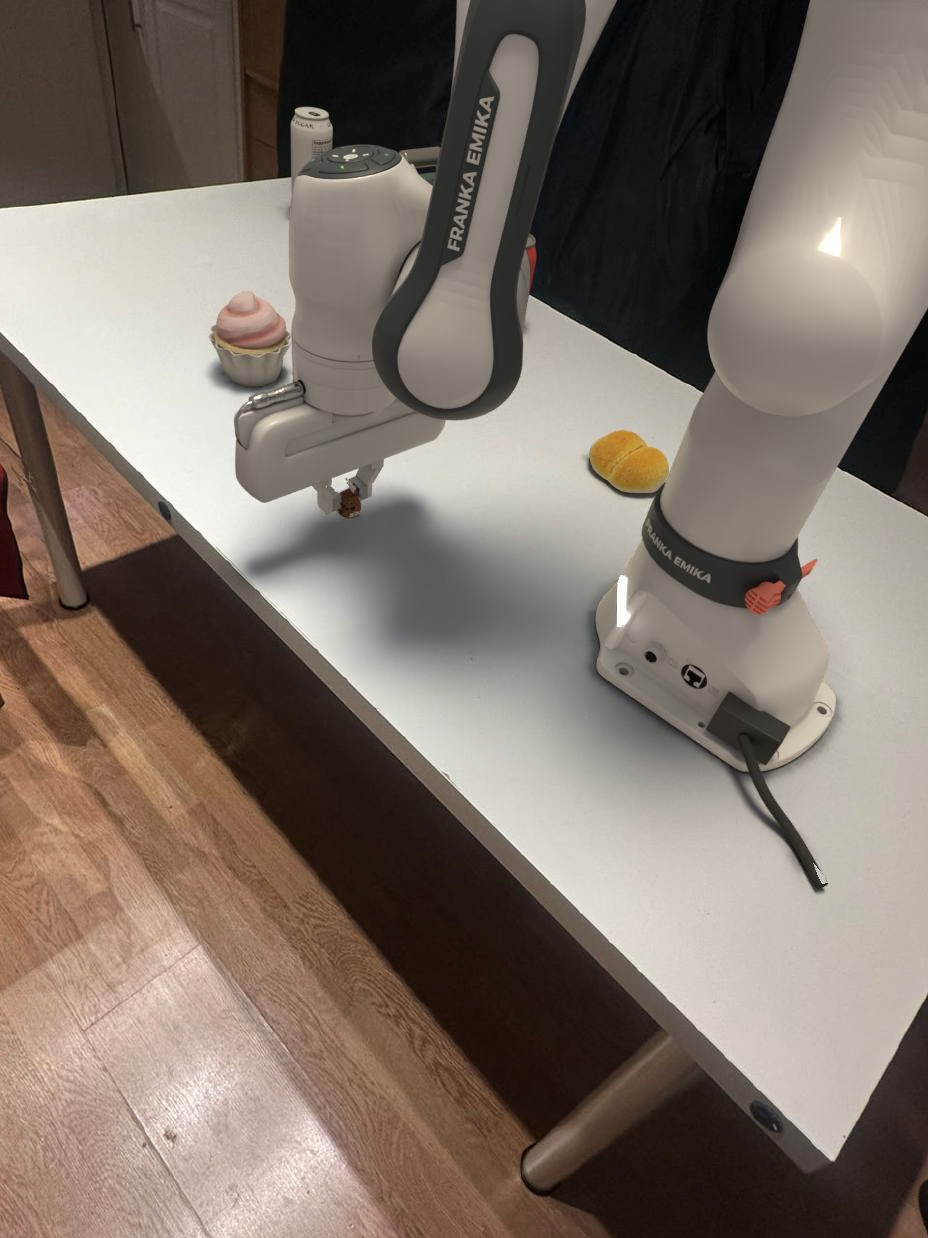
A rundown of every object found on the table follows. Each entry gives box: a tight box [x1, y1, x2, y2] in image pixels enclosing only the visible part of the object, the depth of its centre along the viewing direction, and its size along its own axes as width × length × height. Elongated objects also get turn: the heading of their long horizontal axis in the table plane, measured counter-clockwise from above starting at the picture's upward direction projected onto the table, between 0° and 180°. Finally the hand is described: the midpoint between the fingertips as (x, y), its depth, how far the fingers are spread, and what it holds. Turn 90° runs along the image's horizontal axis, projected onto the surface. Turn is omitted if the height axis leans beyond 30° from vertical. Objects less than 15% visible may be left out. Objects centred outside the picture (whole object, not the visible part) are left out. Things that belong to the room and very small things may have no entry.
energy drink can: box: [290, 106, 334, 192], centre depth 124 cm, size 6×6×15 cm
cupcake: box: [208, 289, 292, 387], centre depth 93 cm, size 9×9×10 cm
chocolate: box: [335, 477, 363, 520], centre depth 77 cm, size 3×2×4 cm
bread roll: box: [589, 429, 670, 494], centre depth 92 cm, size 8×9×4 cm
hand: (345, 502), depth 77 cm, fingers closed on chocolate, 2 cm apart
